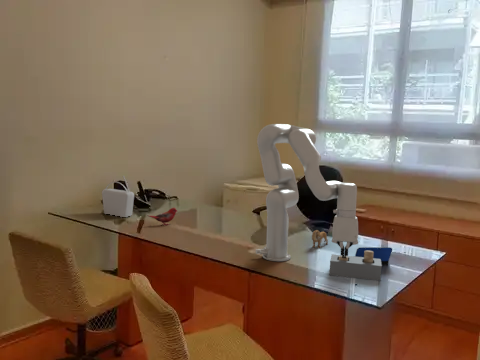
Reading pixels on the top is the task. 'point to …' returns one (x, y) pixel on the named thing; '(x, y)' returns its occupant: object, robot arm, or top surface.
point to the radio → (118, 201)
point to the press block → (355, 268)
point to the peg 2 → (368, 256)
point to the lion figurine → (319, 237)
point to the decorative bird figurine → (165, 216)
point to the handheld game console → (376, 253)
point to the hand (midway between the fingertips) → (344, 257)
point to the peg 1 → (343, 258)
